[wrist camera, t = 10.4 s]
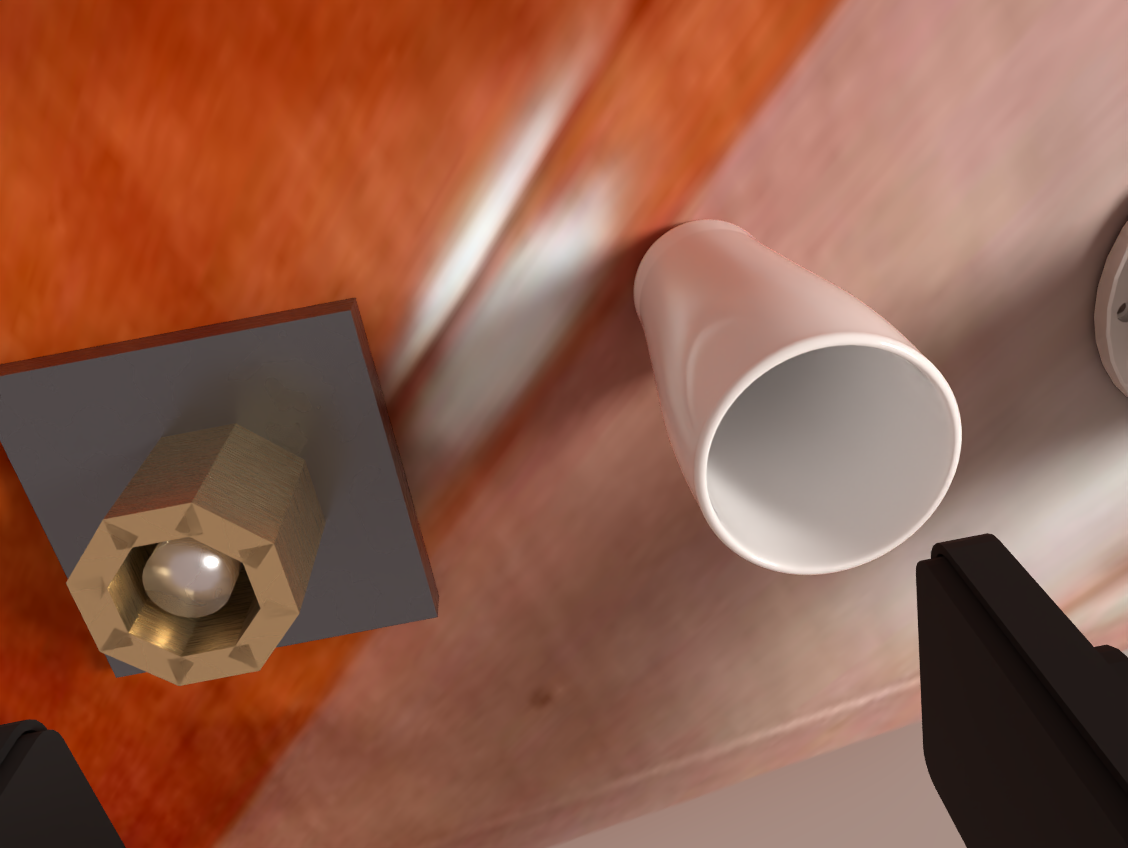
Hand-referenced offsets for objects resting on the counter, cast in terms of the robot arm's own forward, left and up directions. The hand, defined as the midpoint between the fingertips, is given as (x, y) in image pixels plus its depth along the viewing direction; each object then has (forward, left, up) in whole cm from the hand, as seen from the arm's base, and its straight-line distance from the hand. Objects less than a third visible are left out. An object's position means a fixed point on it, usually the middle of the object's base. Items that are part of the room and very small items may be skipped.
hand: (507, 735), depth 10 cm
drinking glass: (-7, +4, -27) cm, 28 cm away
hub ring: (+12, +9, -25) cm, 30 cm away
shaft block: (+13, +9, -27) cm, 31 cm away
